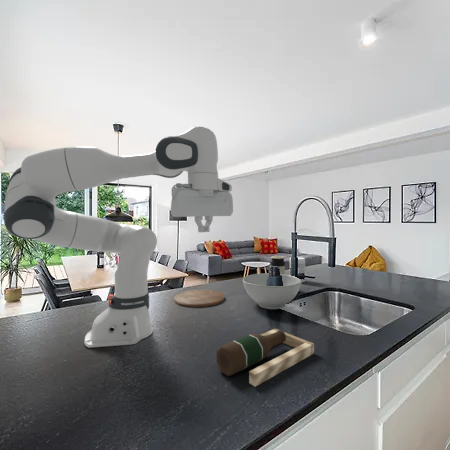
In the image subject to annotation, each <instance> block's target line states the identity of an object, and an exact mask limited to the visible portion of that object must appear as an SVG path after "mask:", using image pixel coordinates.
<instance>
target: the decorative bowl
mask: <svg viewBox="0 0 450 450" xmlns="http://www.w3.org/2000/svg"><path fill="white" fill-rule="evenodd" d="M280 275H281V276H282V281H283V286H266V280H267V278H268V276H269V273H267V272H266V273H254V274H249V275H246V276H244V277H243V278H242V283H243V287H244V289H245V291H246V293H247V294H248V296H249V297H250V298H251V299H252V300H253V301H254V302H256V304H257V305H258V306H259V307H260V308H263V309H268V310H279V309H280V310H281V309H283V308H285V307H286V305H287V304H288V303H291V301H293V299H294V298H295V297H296V296H297V294H298V293H299V290H300V289H301V285H302V283H301V279H299V278H297V277H295V276H291V275H290V274H286V273H285V274H280Z"/></svg>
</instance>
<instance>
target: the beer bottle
mask: <svg viewBox="0 0 450 450" xmlns="http://www.w3.org/2000/svg"><path fill="white" fill-rule="evenodd" d="M284 332H285V331H282V330H280V329H278V331H277V332H276V333H273V334H270V335H266V336H263V335H261V333H255V332H254V333H250V334H248V335H245V336H243V337H240V338H238V339H234V340H233V341H230V342H227V343H225V344H223V345H221V346H220V347H219V348H218V349H217V350H216V353H215V354H216V364H217V365H218V367H219V370H220V372H221V373H223V374H224V375H225V376H227V377H231V376H233V375H235V374H237V373H240V372H241V371H243V370H246V369H248V368H250V367H252V366H254V365H256V364H258V363H260V362H261V361H262V360H264V359H265V358H266V357H268V356H269V354H270V352H271V349H272V348H273V347H275V346H277V345H279V344H280V343H282V344H284V343H283V342H284V341H285V340H286V335H285V333H284Z"/></svg>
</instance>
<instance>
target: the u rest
mask: <svg viewBox="0 0 450 450" xmlns="http://www.w3.org/2000/svg"><path fill="white" fill-rule="evenodd" d="M278 330H279V329H278V328H273V329H271V330H268V331H266V332H264V333H260V335H263V336H266V335H270V334H273V333H276V332H277V331H278ZM283 332H284V333H285V335H286V340H285V341H284V342H283V343H282V344H285V345H288V346H290V347H291V348H292V349H290V350H289V351H287V352H285V353H283V354H281V355H279V356H276V357H274V358H272V359H271V360H269V361H267V362H264V363H263V364H261V365H259V366H256V367H255V368H253V369H251V370H249V371H248V374H249V375H248V380H249V381H248V384H250V385H252V386H253V387H254V388H256V387H257V386H259V385H261V384H262V383H264V382H267V381H268V380H270V379H272V378H273V377H275V376H277V375H278V374H280V373H282V372H283V371H284V372H285V370H287V369H289V368H291V367H293V366H295V365H296V364H298V363H299V362H301V361H303V360H305V359H307V358H308V357H310V356H312V355H314V353H315V343H314V342H311V341H309V340H306V339H304V338H300V337H298V336H297V335H296V336H295V335H293V334H290V333H288V332H285V331H283Z"/></svg>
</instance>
